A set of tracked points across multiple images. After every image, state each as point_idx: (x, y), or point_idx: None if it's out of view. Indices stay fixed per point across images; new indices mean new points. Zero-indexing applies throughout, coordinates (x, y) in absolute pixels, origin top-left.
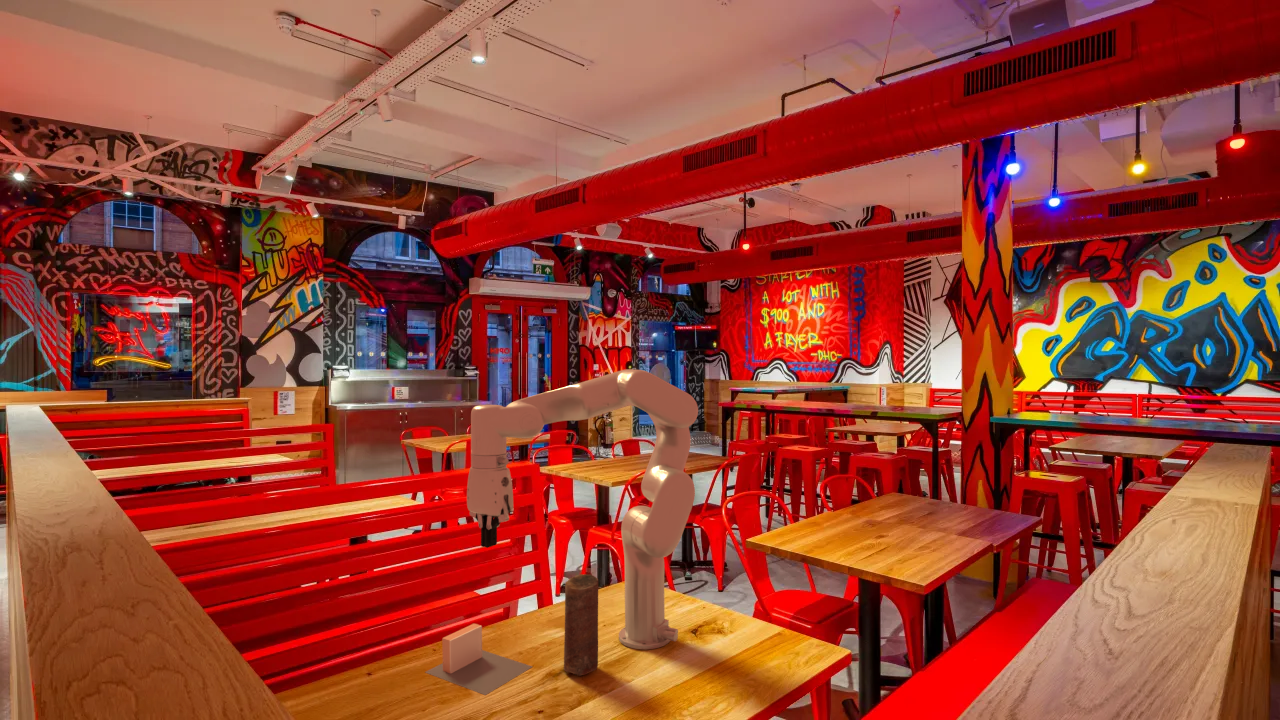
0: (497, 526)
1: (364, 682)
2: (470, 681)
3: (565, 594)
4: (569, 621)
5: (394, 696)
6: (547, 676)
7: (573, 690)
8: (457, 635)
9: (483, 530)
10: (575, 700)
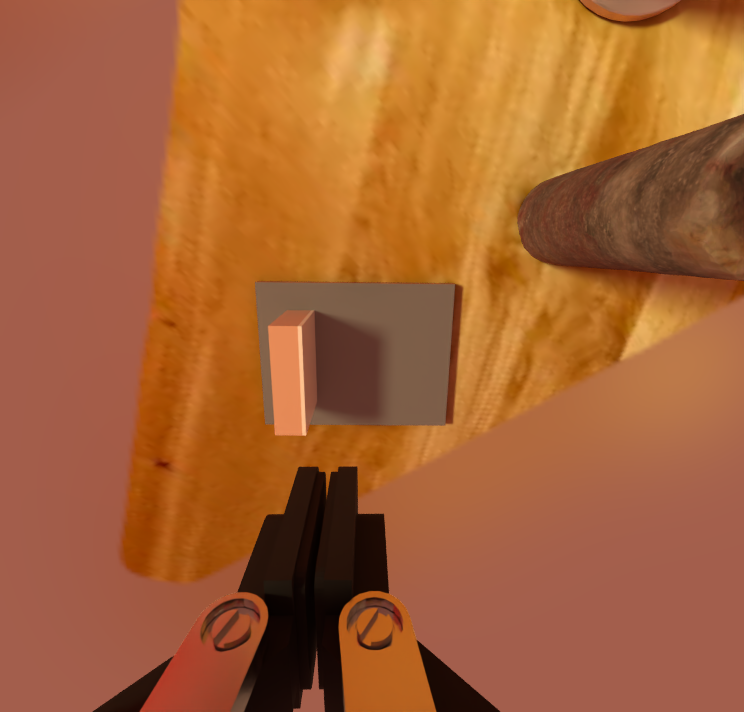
0: (401, 624)
1: (189, 488)
2: (379, 403)
3: (670, 259)
4: (633, 270)
5: (284, 492)
6: (497, 284)
7: (584, 303)
8: (295, 405)
9: (307, 685)
10: (607, 333)
